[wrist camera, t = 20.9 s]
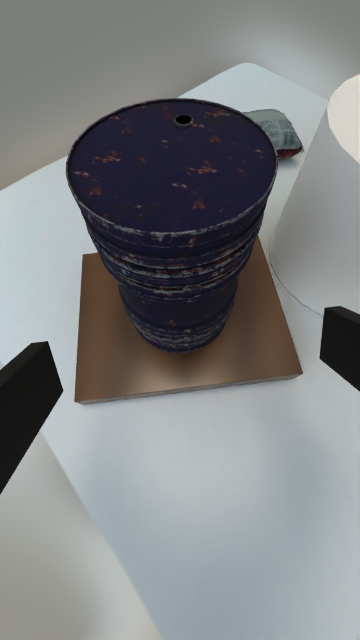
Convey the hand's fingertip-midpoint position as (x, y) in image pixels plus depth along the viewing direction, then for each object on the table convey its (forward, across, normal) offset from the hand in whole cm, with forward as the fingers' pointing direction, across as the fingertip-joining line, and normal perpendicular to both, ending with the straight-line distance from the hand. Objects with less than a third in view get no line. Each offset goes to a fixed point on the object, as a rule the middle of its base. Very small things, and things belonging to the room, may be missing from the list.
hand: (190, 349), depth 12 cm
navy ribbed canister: (+13, 0, -2) cm, 13 cm away
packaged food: (+33, +14, +15) cm, 39 cm away
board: (+15, 0, -3) cm, 15 cm away
